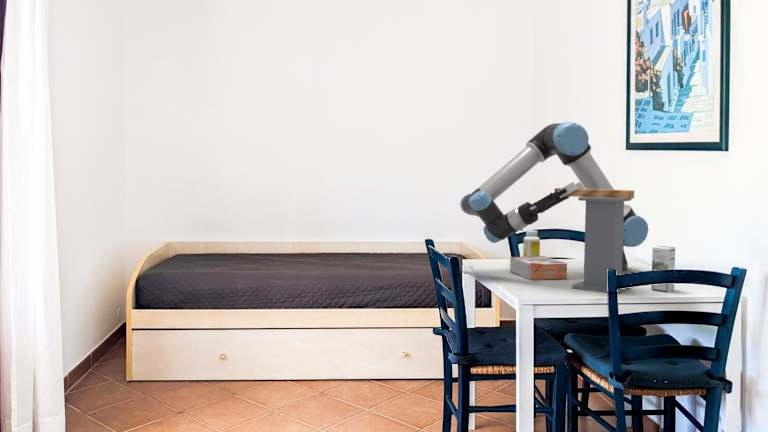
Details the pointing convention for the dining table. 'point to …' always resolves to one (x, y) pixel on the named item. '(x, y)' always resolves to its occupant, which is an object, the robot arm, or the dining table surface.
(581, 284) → the gray pedestal stand
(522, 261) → the cracker box
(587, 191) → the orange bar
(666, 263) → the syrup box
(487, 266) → the dining table surface
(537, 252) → the supplement bottle
